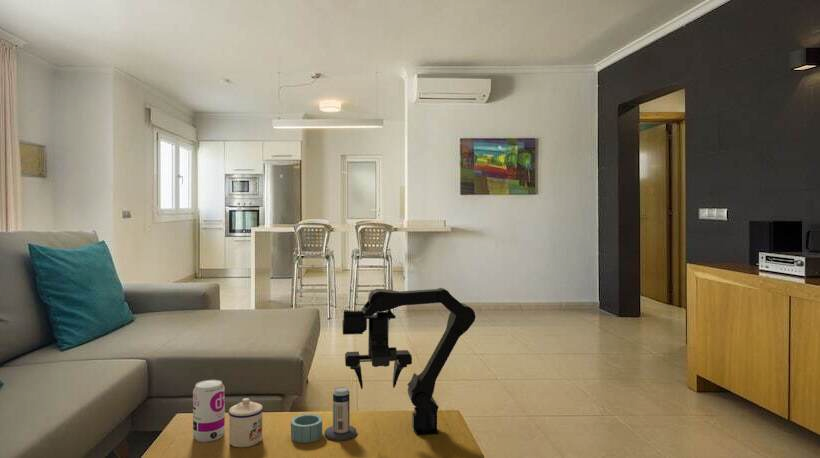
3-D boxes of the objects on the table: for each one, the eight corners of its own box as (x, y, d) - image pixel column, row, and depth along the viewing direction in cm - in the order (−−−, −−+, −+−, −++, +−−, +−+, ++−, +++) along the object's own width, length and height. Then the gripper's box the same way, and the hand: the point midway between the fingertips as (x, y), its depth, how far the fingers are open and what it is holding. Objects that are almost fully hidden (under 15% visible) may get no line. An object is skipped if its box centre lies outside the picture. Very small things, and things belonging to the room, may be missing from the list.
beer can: (353, 431, 145) (353, 389, 145) (340, 436, 142) (339, 393, 141) (342, 426, 148) (342, 385, 148) (329, 431, 145) (329, 389, 145)
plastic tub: (322, 428, 148) (322, 413, 148) (322, 441, 140) (322, 425, 140) (292, 430, 147) (292, 415, 147) (290, 444, 138) (290, 427, 138)
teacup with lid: (254, 449, 135) (254, 406, 135) (222, 447, 136) (222, 404, 136) (272, 430, 147) (272, 390, 147) (242, 428, 148) (242, 389, 148)
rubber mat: (355, 426, 150) (355, 423, 150) (357, 439, 141) (357, 436, 141) (324, 428, 149) (324, 425, 149) (324, 442, 140) (324, 439, 140)
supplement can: (231, 433, 145) (230, 381, 144) (208, 445, 137) (208, 390, 137) (209, 428, 148) (209, 377, 148) (186, 439, 141) (186, 386, 140)
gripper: (346, 341, 136) (346, 399, 136) (415, 339, 139) (414, 396, 139) (345, 332, 147) (344, 385, 147) (409, 330, 150) (408, 383, 150)
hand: (377, 387), depth 146 cm, fingers open, 9 cm apart
